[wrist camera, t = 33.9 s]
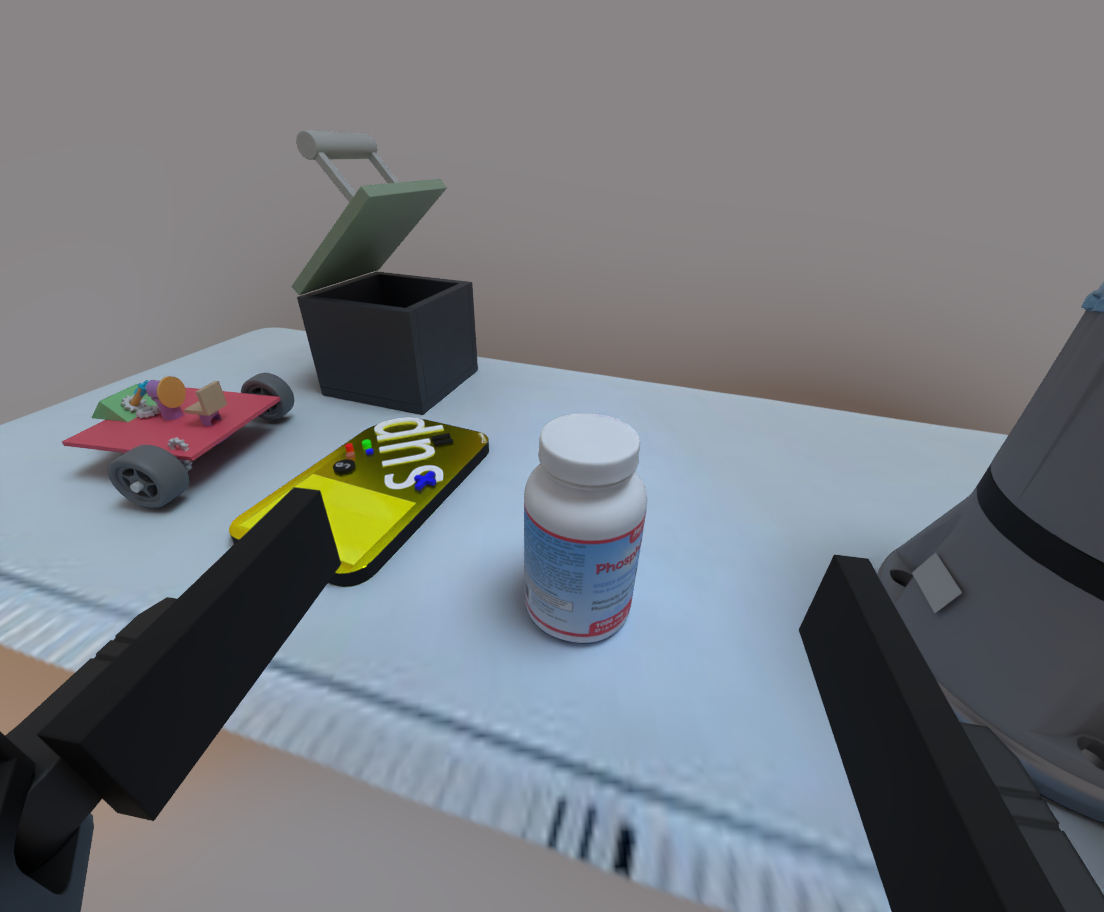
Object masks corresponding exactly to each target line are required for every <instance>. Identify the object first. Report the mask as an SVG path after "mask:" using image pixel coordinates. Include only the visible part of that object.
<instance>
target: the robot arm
mask: <svg viewBox="0 0 1104 912" xmlns="http://www.w3.org/2000/svg"><path fill="white" fill-rule="evenodd" d="M1082 308H1084V309H1085V310H1086V311H1085V313H1084V315H1083V316H1082V318H1081V320H1080V321H1079V323H1078V324H1077V326H1076V328H1075V329H1074V331H1073V333H1072V334H1071V336H1070V337H1069V339H1068V341H1067V342H1066V344H1065V346H1064V347H1063V349H1062V351H1061V352H1060V354H1059V355H1058V357H1057V359H1056V360H1055V362H1054V363H1053V365H1052V367H1051V368H1050V370H1049V371H1048V373H1047V375H1046V376H1045V378H1044V379H1043V381H1042V383H1041V384H1040V386H1039V388H1038V389H1037V391H1036V392H1035V394H1034V396H1033V397H1032V399H1031V401H1030V402H1029V404H1028V405H1027V407H1026V409H1025V411H1024V412H1023V413H1022V415H1021V417H1020V418H1019V420H1018V421H1017V423H1016V425H1015V426H1014V428H1013V429H1012V431H1011V432H1010V434H1009V435H1008V437H1007V439H1006V440H1005V442H1004V443H1003V445H1002V446H1001V448H1000V450H999V451H998V453H997V454H996V456H995V457H994V459H993V461H992V463H991V464H990V466H989V468H988V469H987V471H986V472H985V474H984V476H983V477H982V479H981V480H980V482H979V483H978V485H977V486H976V488H975V489H974V491H973V492H972V494H971V495H970V496H969V497H967V498H966V499H964V500H963V501H962V502H960V503H959V504H958V505H956V506H955V507H954V508H952V509H951V510H949V511H948V512H947V513H945V514H944V515H943V516H941V517H940V518H939V519H937V520H936V521H935V522H933V523H932V524H930V525H929V526H928V527H926V528H925V529H924V530H922V531H921V532H920V533H918V534H917V535H915V536H914V537H913V538H911V539H910V540H909V541H907V542H906V543H905V544H903V545H902V546H901V547H899V548H898V549H896V550H895V551H893V552H892V553H891V554H890V555H889V556H888V557H887V558H886V559H885V561H884V562H883V564H882V566H881V567H880V569H879V571H878V573H876V572H875V570H874V568H873V566H872V564H871V563H870V561H869V559H865V558H857V557H849V556H841V555H834V556H833V558H832V560H831V563H830V565H829V567H828V569H827V571H826V573H825V575H824V577H823V579H822V582H821V584H820V586H819V588H818V590H817V592H816V594H815V596H814V599H813V601H812V603H811V605H810V607H809V609H808V611H807V613H806V615H805V618H804V620H803V622H802V624H801V626H800V628H799V632H800V635H801V638H802V641H803V644H804V647H805V650H806V653H807V656H808V659H809V662H810V665H811V668H812V671H813V674H814V677H815V680H816V683H817V687H818V690H819V693H820V696H821V699H822V702H823V705H824V708H825V711H826V714H827V717H828V720H829V723H830V726H831V729H832V732H833V735H834V738H835V741H836V744H837V747H838V750H839V753H840V756H841V759H842V762H843V765H844V768H845V771H846V774H847V777H848V780H849V783H850V787H851V790H852V793H853V796H854V799H855V802H856V805H857V808H858V811H859V814H860V817H861V820H862V823H863V826H864V829H865V832H866V835H867V838H868V841H869V844H870V847H871V850H872V853H873V856H874V859H875V862H876V865H877V868H878V871H879V874H880V877H881V880H882V883H883V887H884V890H885V893H886V896H887V899H888V902H889V905H890V908H891V911H892V912H1104V895H1103V893H1102V892H1101V890H1100V888H1099V887H1098V885H1097V884H1096V882H1095V880H1094V879H1093V877H1092V876H1091V874H1090V872H1089V871H1088V869H1087V868H1086V866H1085V864H1084V863H1083V861H1082V859H1081V858H1080V856H1079V855H1078V853H1077V851H1076V850H1075V848H1074V847H1073V845H1072V843H1071V842H1070V840H1069V839H1068V837H1067V835H1066V834H1065V832H1064V831H1061V830H1060V829H1059V823H1058V821H1057V819H1056V818H1055V816H1054V815H1053V813H1052V811H1051V810H1050V808H1049V807H1048V805H1047V803H1046V802H1045V801H1043V800H1042V799H1041V798H1040V794H1042V795H1044V796H1045V797H1047V798H1049V799H1051V800H1053V801H1055V802H1057V803H1059V804H1061V805H1063V806H1065V807H1067V808H1069V809H1072V810H1074V811H1076V812H1078V813H1081V814H1083V815H1085V816H1087V817H1090V818H1092V819H1094V820H1097V821H1100V822H1102V823H1104V282H1103V283H1102V285H1101V286H1100V287H1099V289H1098V290H1096V291H1093V292H1092V293H1091V294H1089V295H1088V296H1087V297H1086V299H1085V301H1084V303H1083V305H1082ZM340 565H341V561H340V557H339V554H338V550H337V547H336V543H335V540H334V536H333V533H332V529H331V526H330V522H329V519H328V515H327V512H326V508H325V505H324V501H323V498H322V494H321V491H320V490H314V489H306V488H298V487H294V488H292V489H291V490H290V491H289V492H288V493H287V494H286V495H285V496H284V497H283V498H282V499H281V500H280V501H279V502H278V503H277V504H276V505H275V506H274V507H273V508H272V509H271V510H270V511H269V512H268V513H266V514H265V515H264V516H263V517H262V518H261V519H260V520H259V521H258V522H257V523H256V524H255V525H254V526H253V527H252V528H251V529H250V530H249V531H248V532H247V533H246V534H245V535H244V536H243V537H241V538H240V539H239V540H238V541H237V542H236V543H235V544H234V545H233V546H232V547H231V548H230V549H229V550H228V551H227V552H226V553H225V554H224V555H223V556H222V557H221V558H220V559H219V560H218V561H217V562H215V563H214V564H213V565H212V566H211V567H210V568H209V569H208V570H207V571H206V572H205V573H204V574H203V575H202V576H201V577H200V578H199V579H198V580H197V581H196V582H195V583H194V584H193V585H192V586H191V587H189V588H188V589H187V590H186V591H185V592H184V593H183V594H182V595H181V596H180V597H179V598H178V599H175V598H168V597H167V598H165V599H163V600H162V601H160V602H159V603H157V604H155V605H154V606H152V607H150V608H149V609H147V610H145V611H144V612H142V613H140V614H139V615H138V616H137V617H135V618H134V619H133V620H132V621H131V622H130V623H129V624H128V625H127V626H126V627H125V628H123V629H122V630H121V631H120V632H119V633H118V634H117V635H116V637H115V639H114V640H110V641H109V642H108V643H107V644H106V645H105V646H104V647H103V648H102V649H101V650H99V651H98V652H97V653H96V657H95V658H93V659H92V658H91V659H90V660H89V661H88V662H86V663H85V664H84V665H83V666H82V667H81V668H80V669H79V670H78V671H77V672H76V673H74V674H73V675H72V676H71V677H70V678H69V679H68V680H67V681H66V682H65V683H64V684H62V685H61V686H60V687H59V688H58V689H57V690H56V691H55V692H54V693H53V694H52V695H51V696H49V697H48V698H47V699H46V700H45V701H44V702H43V703H42V704H41V705H40V706H39V707H37V708H36V709H35V710H34V711H33V712H32V713H31V714H30V715H29V716H28V717H27V718H25V719H24V720H23V721H22V722H21V723H20V724H19V725H18V726H17V727H15V728H14V729H13V730H12V731H11V732H9V733H8V734H7V735H6V736H5V735H4V734H2V733H1V732H0V912H80V911H81V905H82V898H83V892H84V886H85V879H86V873H87V867H88V861H89V854H90V848H91V841H92V835H93V829H94V824H93V815H92V814H91V811H92V810H93V809H94V808H95V807H96V805H97V804H98V803H99V802H100V800H101V799H103V800H105V801H106V802H107V803H108V804H109V805H110V806H111V807H112V808H113V809H114V810H115V811H116V812H117V813H120V814H125V815H129V816H134V817H138V818H143V819H147V820H152V821H154V820H155V819H156V817H157V816H158V815H159V813H160V812H161V811H162V809H163V808H164V806H165V805H166V804H167V802H168V801H169V800H170V798H171V797H172V795H173V794H174V793H175V791H176V790H177V789H178V787H179V786H180V784H181V783H182V782H183V780H184V779H185V778H186V776H187V775H188V774H189V772H190V771H191V769H192V768H193V766H194V765H195V764H196V763H197V761H198V760H199V758H200V757H201V756H202V754H203V753H204V752H205V750H206V749H207V748H208V746H209V745H210V743H211V742H212V741H213V739H214V738H215V737H216V735H217V734H218V732H219V731H220V730H221V728H222V727H223V726H224V724H225V723H226V722H227V720H228V719H229V717H230V716H231V715H232V713H233V712H234V711H235V709H236V708H237V706H238V705H239V704H240V702H241V701H242V700H243V698H244V697H245V696H246V694H247V693H248V691H249V690H250V689H251V687H252V686H253V685H254V683H255V682H256V680H257V679H258V678H259V676H260V675H261V674H262V672H263V671H264V669H265V668H266V667H267V665H268V664H269V663H270V661H271V660H272V659H273V657H274V656H275V654H276V653H277V652H278V650H279V649H280V648H281V646H282V645H283V643H284V642H285V641H286V639H287V638H288V637H289V635H290V634H291V633H292V631H293V630H294V628H295V627H296V626H297V624H298V623H299V622H300V620H301V619H302V617H303V616H304V615H305V613H306V612H307V611H308V609H309V608H310V606H311V605H312V604H313V602H314V601H315V600H316V598H317V597H318V596H319V594H320V593H321V591H322V590H323V589H324V587H325V586H326V585H327V583H328V582H329V580H330V579H331V578H332V576H333V575H334V574H335V572H336V571H337V570H338V568H339V567H340Z"/></svg>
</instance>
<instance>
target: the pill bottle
mask: <svg viewBox="0 0 1104 912" xmlns="http://www.w3.org/2000/svg"><path fill="white" fill-rule="evenodd" d="M639 449H640V439H639V436H638V434H637V432H636V431H635V430H634V429H633V428H632V427H631V426H630V425H628V424H626V423H625V422H623V421H621V420H618V419H616V418H613V417H609V416H606V415H600V414H593V413H577V414H569V415H564V416H561V417H558V418H556V419H554V420H552V421H550V422H549V423H547V424H546V425H545V426H544V428H543V429H542V431H541V434H540V442H539V454H538V456H539V460H540V463H541V464H539V465H538V466H537V467H536V468H535V469H534V470H533V472H532V473H531V474H530V476H529V478H528V480H527V483H526V486H525V493H524V571H525V603H526V608H527V610H528V613H529V615H530V617H531V618H532V620H533V621H534V623H535V624H536V625H537V626H538V627H539V628H541V629H542V630H543V631H545V632H546V633H548V634H550V635H552V636H554V637H557V638H559V639H563V640H566V641H570V642H577V643H590V642H596V641H600V640H603V639H605V638H607V637H609V636H611V635H612V634H614V633H615V632H616V631H618V630H619V629H620V628H621V626H622V625H623V624H624V622H625V621H626V619H627V617H628V614H629V611H630V607H631V602H632V596H633V590H634V583H635V578H636V572H637V565H638V559H639V553H640V546H641V541H642V534H643V528H644V522H645V515H646V507H647V492H646V488H645V486H644V483H643V481H642V479H641V478H640V476H639V475H638V474H637V472H636V471H635V470H636V468H637V466H638V463H639V458H638V457H639Z"/></svg>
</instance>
